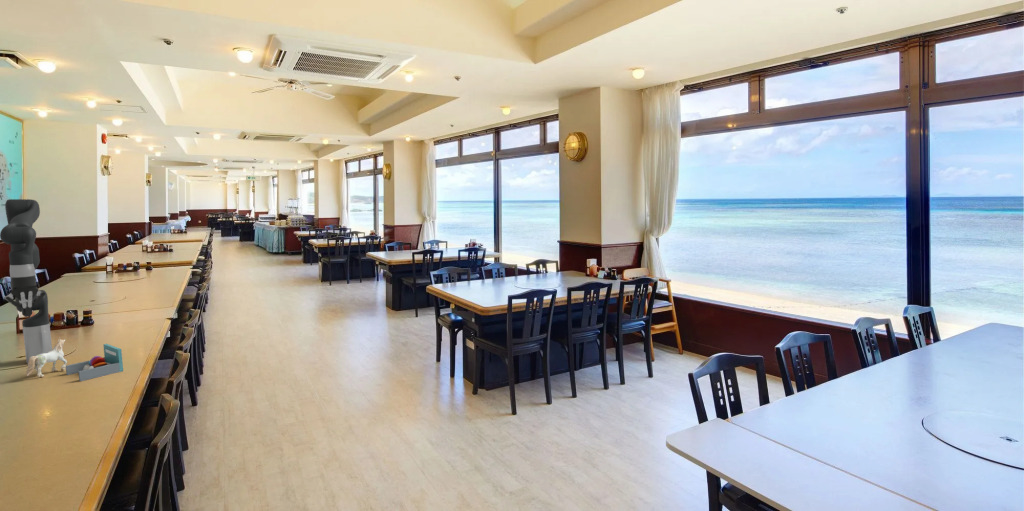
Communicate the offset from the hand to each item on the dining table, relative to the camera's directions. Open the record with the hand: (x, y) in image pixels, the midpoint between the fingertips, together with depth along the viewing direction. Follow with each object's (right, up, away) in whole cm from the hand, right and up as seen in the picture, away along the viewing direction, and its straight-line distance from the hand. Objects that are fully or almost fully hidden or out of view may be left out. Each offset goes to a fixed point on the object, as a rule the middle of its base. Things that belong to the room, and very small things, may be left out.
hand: (27, 316), depth 214 cm
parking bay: (+19, -26, +11) cm, 34 cm away
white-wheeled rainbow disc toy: (+20, -26, +12) cm, 35 cm away
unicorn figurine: (-2, -26, +11) cm, 28 cm away
